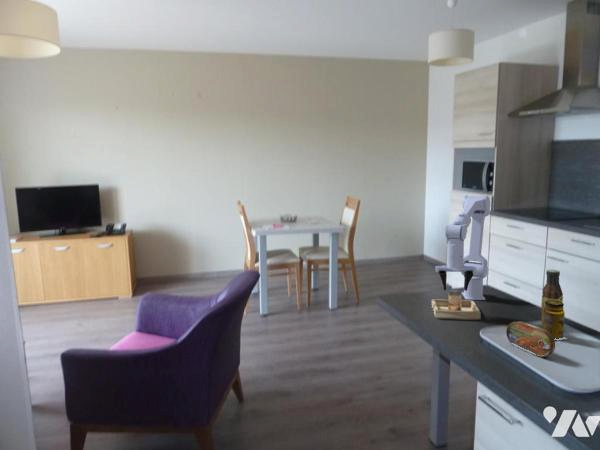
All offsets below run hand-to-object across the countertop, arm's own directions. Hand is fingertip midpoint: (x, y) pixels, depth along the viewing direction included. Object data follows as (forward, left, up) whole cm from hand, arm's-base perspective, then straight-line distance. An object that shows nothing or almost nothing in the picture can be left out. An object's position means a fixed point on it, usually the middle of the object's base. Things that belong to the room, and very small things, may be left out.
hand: (455, 289), depth 164 cm
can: (0, 0, -9) cm, 9 cm away
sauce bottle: (+10, +31, -10) cm, 34 cm away
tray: (0, 0, -9) cm, 9 cm away
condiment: (+20, +27, -10) cm, 35 cm away
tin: (+32, +17, -10) cm, 38 cm away
